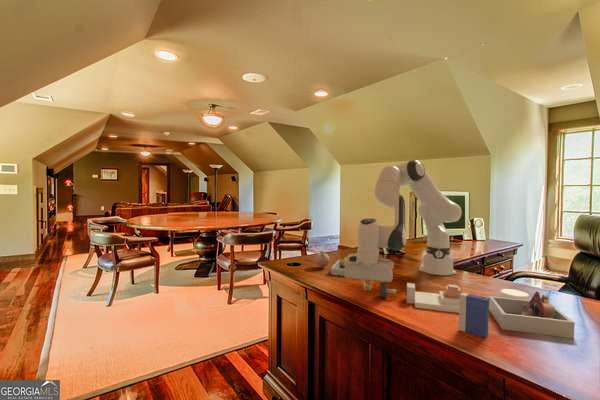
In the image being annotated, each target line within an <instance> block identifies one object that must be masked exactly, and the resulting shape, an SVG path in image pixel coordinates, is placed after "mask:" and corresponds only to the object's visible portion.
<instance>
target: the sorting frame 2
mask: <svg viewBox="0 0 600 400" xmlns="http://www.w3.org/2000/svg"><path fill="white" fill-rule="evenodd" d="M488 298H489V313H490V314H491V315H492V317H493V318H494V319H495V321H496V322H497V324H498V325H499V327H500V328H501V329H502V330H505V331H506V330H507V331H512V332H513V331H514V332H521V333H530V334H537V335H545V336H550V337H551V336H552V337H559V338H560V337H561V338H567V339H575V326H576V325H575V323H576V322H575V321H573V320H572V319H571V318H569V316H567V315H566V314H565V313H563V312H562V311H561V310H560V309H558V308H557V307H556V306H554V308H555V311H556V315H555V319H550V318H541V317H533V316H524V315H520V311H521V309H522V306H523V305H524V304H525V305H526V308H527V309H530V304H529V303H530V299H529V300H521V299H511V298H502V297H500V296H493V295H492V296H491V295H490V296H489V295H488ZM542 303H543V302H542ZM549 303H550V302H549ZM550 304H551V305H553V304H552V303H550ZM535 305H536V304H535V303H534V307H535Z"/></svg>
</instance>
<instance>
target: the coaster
mask: <svg viewBox="0 0 600 400" xmlns="http://www.w3.org/2000/svg"><path fill="white" fill-rule="evenodd" d="M499 297H502V298H511V299H521V300H530V294H529V293H528V292H525V291H522V290H520V289H519V290H518V289H514V288H502V289H500V290H499Z"/></svg>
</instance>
